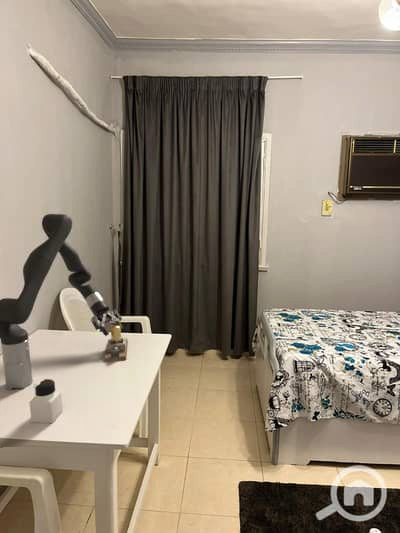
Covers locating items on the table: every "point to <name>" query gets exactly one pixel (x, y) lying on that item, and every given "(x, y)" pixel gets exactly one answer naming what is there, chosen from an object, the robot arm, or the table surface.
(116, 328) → the ball
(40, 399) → the medicine bottle
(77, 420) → the table surface
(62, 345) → the table surface
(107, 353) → the shaft rig
